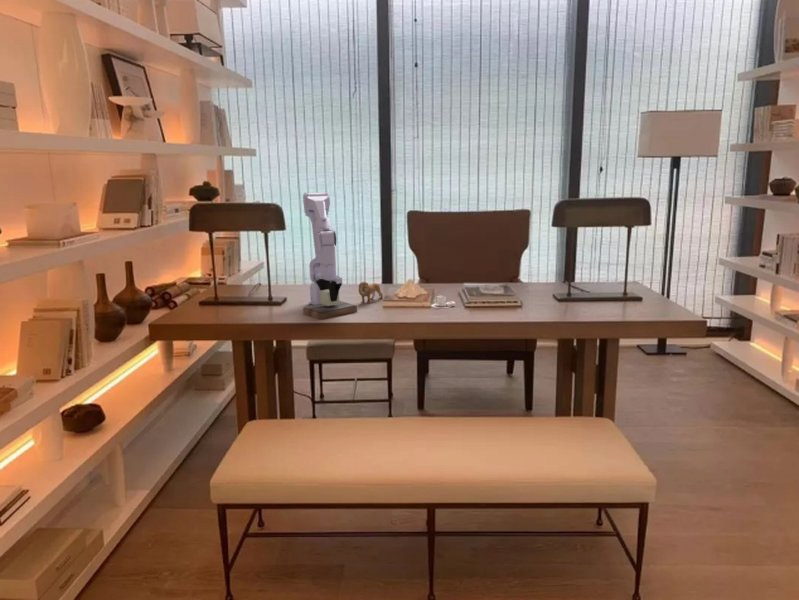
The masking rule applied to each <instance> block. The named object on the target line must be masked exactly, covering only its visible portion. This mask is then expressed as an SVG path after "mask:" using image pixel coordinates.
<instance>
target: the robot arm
mask: <svg viewBox="0 0 799 600" xmlns="http://www.w3.org/2000/svg"><path fill="white" fill-rule="evenodd" d="M330 199H331V197H330V194H329V192H328V191H322V192H304V194H303V195H302V201H303V202H302V203H303V210H304V214H305V216H306V217H308V218H309V220H310V223H311V230H312V238H313V247H314V255H315V257H314V258H313V259H312V260H311V261H309V262H310V263H309V265H308V266H309V279H310V281H311V283H310V284H309V293H310V294H309V296H310V301H309V302H308V304H310V305H317V304H321V300H320V290H326V289H329V292H330V299H331V301H332V302H333V301H337V297H338V292H339V293H340V289H341V287H342V286H343V277H341V276H340V275H337V264H336V263H337V261H336V260H337V259H336V246H337V239H338V238H337V234H336V230H335V229H334V228H333V227H332V222H331V219H330V218H329V217H328V215H329V211H330V205H331V200H330Z"/></svg>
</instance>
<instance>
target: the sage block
mask: <svg viewBox="0 0 799 600" xmlns="http://www.w3.org/2000/svg"><path fill="white" fill-rule="evenodd" d="M320 300H321V304H323V305H327V306H330V305H335V304H339V301H340V291H339V292H338V297H337V301H333V302H332V301H331V299H330V292H329V289H326V290H320Z"/></svg>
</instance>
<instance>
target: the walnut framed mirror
mask: <svg viewBox="0 0 799 600" xmlns="http://www.w3.org/2000/svg"><path fill="white" fill-rule="evenodd" d="M357 312H358V306H357V305H355V304H352V303H349V302H345V301H342V300H339V304H335V305H330V306H327V305H323V304H317V305H313V304H311V305H308V306H304V307H303V308H302V313H303V315H306V316H310V317H312V318H314V319H319V320H322V321H323V320H326V319H330V318H334V317H339V316H344V315H347V314H348V315H349V314H352V313H357Z"/></svg>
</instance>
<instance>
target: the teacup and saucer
mask: <svg viewBox="0 0 799 600" xmlns="http://www.w3.org/2000/svg"><path fill="white" fill-rule="evenodd" d="M433 299H434V303H433V304H431V305H430V306H431V307H432V308H435V309H440V308H443V309H447V308H448V309H449V308H451V307H453V306H455V304H456V302H455V301H447V302H446V295H437V296H435V297H434V298H433ZM436 299H437V301H436ZM436 305H437V306H436ZM444 306H445V307H444Z"/></svg>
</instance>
